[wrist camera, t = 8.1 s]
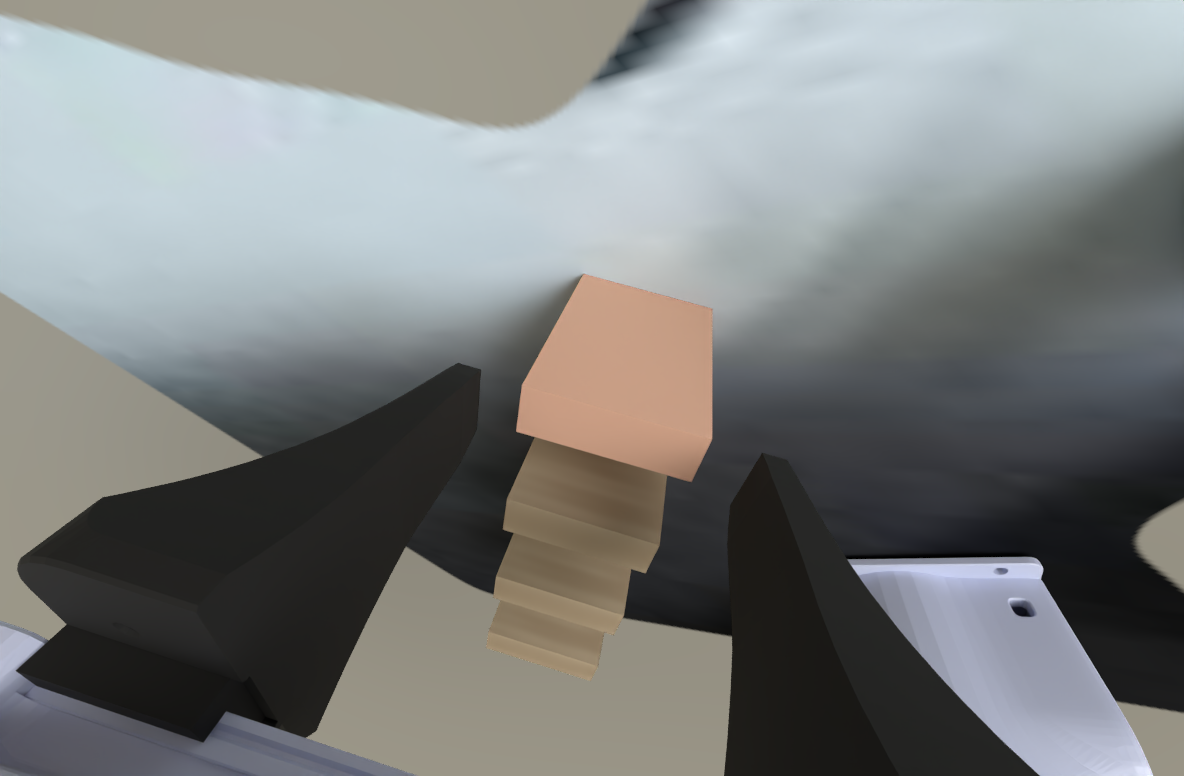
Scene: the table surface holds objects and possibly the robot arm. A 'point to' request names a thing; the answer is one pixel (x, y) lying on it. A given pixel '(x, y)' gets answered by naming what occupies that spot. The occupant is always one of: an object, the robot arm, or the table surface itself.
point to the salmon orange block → (625, 379)
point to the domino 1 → (587, 504)
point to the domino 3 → (545, 640)
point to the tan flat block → (563, 584)
